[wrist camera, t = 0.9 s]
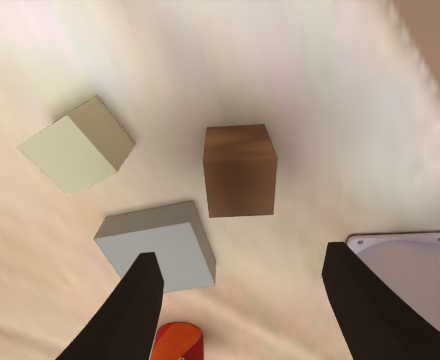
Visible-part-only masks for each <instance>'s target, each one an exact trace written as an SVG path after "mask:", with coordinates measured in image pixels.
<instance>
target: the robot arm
mask: <svg viewBox="0 0 440 360" xmlns="http://www.w3.org/2000/svg"><path fill="white" fill-rule="evenodd" d="M322 278H323V282H324V285H325V289H326V292H327V296H328V299H329V302H330V304H331V307H332V309H333V311H334V314H335V316H336V319H337V321H338V324H339V326H340V328H341V331H342V333H343V336H344V338H345V341H346V343H347V345H348V348H349V350H350V353H351V355H352V357H353V360H440V233H415V234H391V235H366V236H352V237H350V238H349V239H348V241H347V245H346V244H345V243H344V242H329V243H328V246H327V251H326V256H325V261H324V265H323V270H322ZM163 290H164V279H163V276H162V273H161V270H160V267H159V264H158V261H157V258H156V254H155V252H145V253H140V254H139V255H138V256H137V258H136V259H135V261H134V262H133V264H132V265H131V267H130V268H129V270H128V271H127V272H126V274H125V275H124V277H123V278H122V280H121V281H120V282H119V284H118V285H117V286H116V288H115V289H114V290H113V292H112V293H111V295H110V296H109V297H108V299H107V300H106V301H105V303H104V304H103V305H102V306H101V308H100V309H99V310H98V311H97V313H96V314H95V315H94V316H93V318H92V319H91V320H90V321H89V322H88V324H87V325H86V326H85V327H84V328H83V330H82V331H81V332H80V333H79V334H78V335H77V337H76V338H75V339H74V340H73V341H72V342H71V343H70V344H69V345H68V347H67V348H66V349H65V350H64V351H63V352H62V353H61V354H60V355H59V356H58V357H57V358H56V359H55V360H149V356H150V352H151V348H152V344H153V340H154V336H155V332H156V327H157V323H158V319H159V315H160V311H161V306H162V298H163Z"/></svg>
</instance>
